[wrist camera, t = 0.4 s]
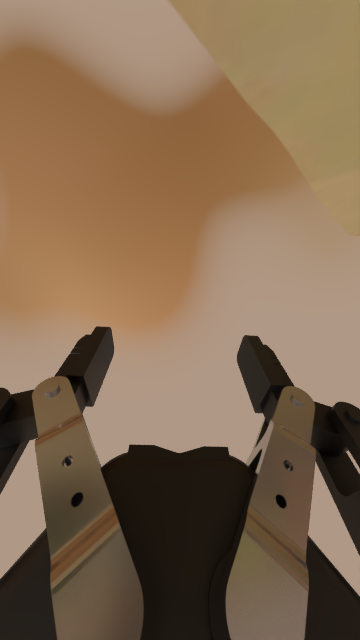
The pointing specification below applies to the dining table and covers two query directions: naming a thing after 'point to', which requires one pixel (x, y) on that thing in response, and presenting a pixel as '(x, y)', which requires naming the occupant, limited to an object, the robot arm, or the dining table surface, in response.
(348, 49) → the dining table surface
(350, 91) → the dining table surface
